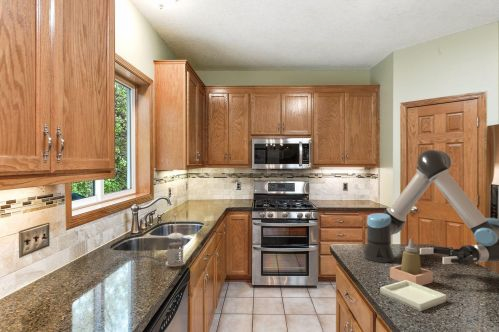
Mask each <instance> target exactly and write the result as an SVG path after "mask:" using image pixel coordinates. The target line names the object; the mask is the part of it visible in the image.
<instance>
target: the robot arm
mask: <svg viewBox="0 0 499 332" xmlns="http://www.w3.org/2000/svg"><path fill="white" fill-rule="evenodd" d="M451 166H452V159H451V157H450V156H449V154H448V153H446V152H444V151H443V150H440V149H439V150H437V149H436V150H435V149H428V150H425V151H423V152H421V153H420V154H419V156H418V158H417V166H416V168H415V170H416V173H415V174H414V176H413V177H412V178H411V180H410V181H409V182H408V184H407V185H406V186H405V188H403V190H402V192H401V193H400V194H399V196H398V197H397V199H396V200H395V201H394V202H393V204H392V206H388V207H386V209H385V210H384V212H383V213H382V212H381V213H380V212H378V213H370V214H369V215H367V220H366V234H367V235H366V239H367V240H366V245H365V247H364V250H363V258H364V259H366V260H368V261H372V262H377V263H392V262H393V261H395V255H394V253H393V248H392V246H391V242H392V241H391V238H392V237H391V236H392V235H393V236H394V235H396V234H398V233H399V232H401V231H402V229H403V228H404V225H405V223H406V221H407V215H408V214H409V213H410V211H411V210H412V209H413V208H414V206H415V205H416V204H417V202H418V201H419V200H420V199H421V197H422V196H423V194H425V192H426V191H427V189H428V188H429V187H430V186H431V184H432V182H433V184H434V185H435V187H436V188H437V189H438V190H439V192H440V193H441V194H442V196H443V197H444V198H445V199H446V200H447V202H448V203H449V204H450V205H451V206H452V208H453V209H454V211H455V212H456V213H457V215H459V217H460V218H461V219H462V221H463V222H464V223H465V225H466V226H467V227H468V228H469V229H470V231H471V233H472V234H473V237H474V240H475V241H476V242H477V243H478V244H468V245H466V244H465V245H464V244H463V245H462V246H461V247H460V248H454V247H449V246H448V247H447V246H446V247H445V246H432V245H429V247H420V248H419V254H420V255H434V254H437V255H445V256H442V264H443V265H450V264H451V265H452V264H453V265H454V264H455V265H456V264H460V265H462V264H463V266H468V265H471V264H472V263H477V264H480V263H483V262H484V263H485V262H487V263H488V262H499V218H493V217H485V216H484V214H483V213H482V212H481V210H479V208H478V207H477V206H476V205H475V203H474V202H473V201H472V200H471V199H470V197H469V196H468V195H467V194H466V192H465V191H464V190H463V189H462V188H461V187H460V184H458V182H456V180H455V179H454V178H453V176H452V175H451V174H450V172H449V171H450V168H451Z"/></svg>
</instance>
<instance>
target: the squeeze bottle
mask: <svg viewBox="0 0 499 332" xmlns="http://www.w3.org/2000/svg"><path fill="white" fill-rule="evenodd" d="M408 241H409V242H408V245H406V246H405V248H404V250H405V251H403V252H402V257H401V258H402V259H401V264H400V265H401V271H404V272H406V273H409V274H412V275H418V274H422V272H421V268H422V266H421V265H422V262H421V254H420V252H418V247H416V246H415V243H414V239H412V238H410V239H409V240H408Z"/></svg>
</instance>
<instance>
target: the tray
mask: <svg viewBox="0 0 499 332" xmlns="http://www.w3.org/2000/svg"><path fill="white" fill-rule="evenodd" d="M379 290H380V291H379V293H380V295H383V296H385V297H387V298H389V299H390V300H391V299H392V300H394V301H396V302H397V303H400V304H401V305H402V304H403V305H405V306H407V307H409V308H411V309H414V310H415V311H418V312H422V311H425V310H427V309H429V308H433V307H436V306H438V305H441V304H443V303H446V302H447V294H445V293H444V292H443V293H442V292H439V291H437V290H434V289H432V288H430V287H426V286H425V285H422V286H421V285H418V284H416V283H413V282H410V281H408V280H404V281H398V282H394V283H391V284H387V285H384V286H381V287H380V289H379Z"/></svg>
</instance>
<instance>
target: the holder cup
mask: <svg viewBox="0 0 499 332" xmlns="http://www.w3.org/2000/svg"><path fill="white" fill-rule="evenodd" d="M401 265H402V264H400V265H399V264H398V265H395V266H391V267H389V278H390V279H392V280H395V281H398V282H400V281H404V280H408V281H410V282H413V283H416V284H418V285H421V286H425V285H428V284H431V283H433V282H434V271H431V270H429V269H427V268H426V269H425V268H422V267H421V272H422V274H418V275H412V274H409V273H406V272H404V271H401Z"/></svg>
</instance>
